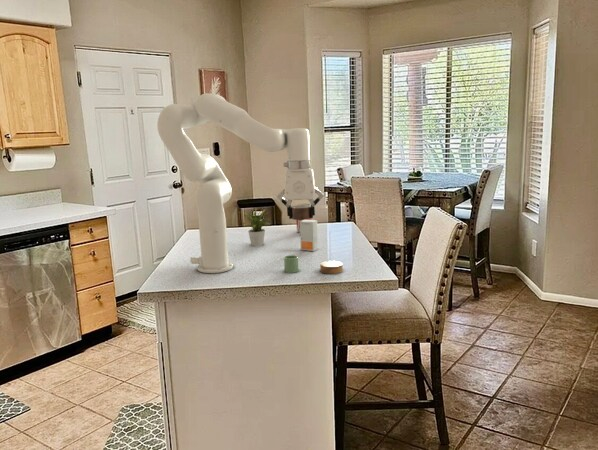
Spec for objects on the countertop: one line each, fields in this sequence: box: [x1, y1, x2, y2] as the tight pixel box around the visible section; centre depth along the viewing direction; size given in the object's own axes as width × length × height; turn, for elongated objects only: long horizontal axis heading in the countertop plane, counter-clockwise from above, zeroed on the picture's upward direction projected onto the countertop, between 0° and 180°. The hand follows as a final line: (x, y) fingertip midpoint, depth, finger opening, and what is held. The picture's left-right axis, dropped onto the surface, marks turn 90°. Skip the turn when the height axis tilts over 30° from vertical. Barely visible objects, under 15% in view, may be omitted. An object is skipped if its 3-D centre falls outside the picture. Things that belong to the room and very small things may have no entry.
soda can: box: [295, 203, 312, 234], centre depth 240 cm, size 7×7×13 cm
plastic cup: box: [283, 254, 299, 274], centre depth 178 cm, size 5×5×5 cm
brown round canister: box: [291, 204, 311, 221], centre depth 174 cm, size 7×7×4 cm
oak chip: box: [319, 260, 343, 275], centre depth 177 cm, size 8×8×2 cm
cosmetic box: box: [299, 219, 319, 252], centre depth 207 cm, size 6×4×12 cm
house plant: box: [239, 206, 271, 247], centre depth 216 cm, size 14×14×16 cm
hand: (301, 217), depth 175 cm, fingers closed on brown round canister, 6 cm apart
